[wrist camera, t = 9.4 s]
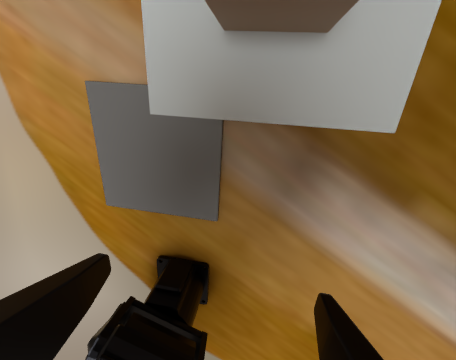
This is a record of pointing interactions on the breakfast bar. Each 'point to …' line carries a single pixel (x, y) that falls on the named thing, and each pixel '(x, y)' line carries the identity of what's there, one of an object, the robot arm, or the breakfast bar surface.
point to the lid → (286, 59)
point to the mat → (154, 154)
